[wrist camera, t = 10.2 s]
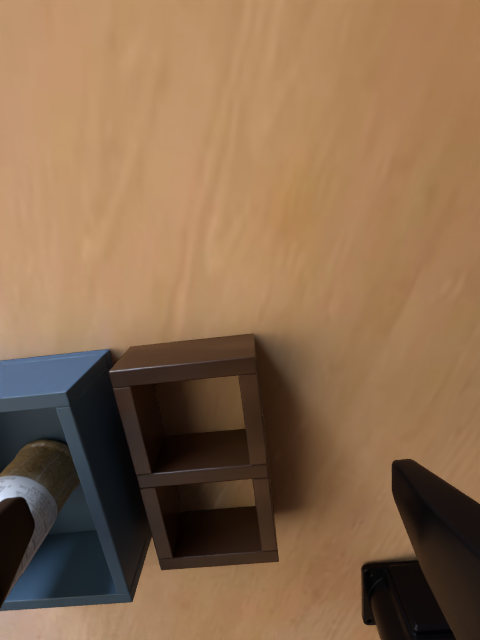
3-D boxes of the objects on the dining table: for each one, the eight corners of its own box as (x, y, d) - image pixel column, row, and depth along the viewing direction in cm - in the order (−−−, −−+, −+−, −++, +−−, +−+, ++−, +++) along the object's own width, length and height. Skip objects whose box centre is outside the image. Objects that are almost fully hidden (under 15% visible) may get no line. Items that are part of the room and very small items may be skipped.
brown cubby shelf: (274, 515, 25) (279, 562, 21) (172, 523, 25) (160, 570, 22) (253, 333, 20) (255, 356, 17) (130, 346, 21) (107, 371, 17)
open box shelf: (155, 524, 25) (132, 602, 20) (9, 535, 26) (-48, 614, 21) (109, 348, 21) (65, 391, 16) (-65, 367, 21) (-162, 414, 16)
